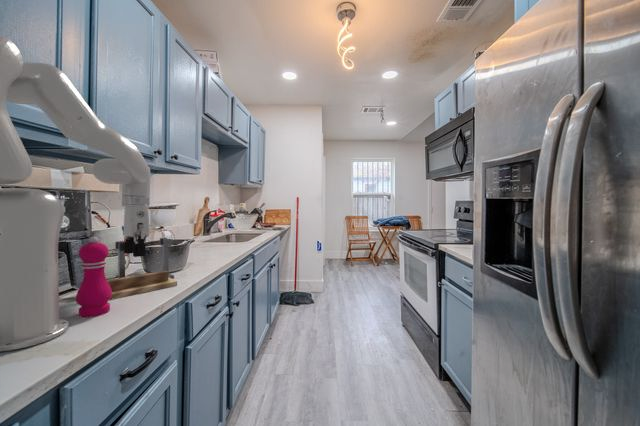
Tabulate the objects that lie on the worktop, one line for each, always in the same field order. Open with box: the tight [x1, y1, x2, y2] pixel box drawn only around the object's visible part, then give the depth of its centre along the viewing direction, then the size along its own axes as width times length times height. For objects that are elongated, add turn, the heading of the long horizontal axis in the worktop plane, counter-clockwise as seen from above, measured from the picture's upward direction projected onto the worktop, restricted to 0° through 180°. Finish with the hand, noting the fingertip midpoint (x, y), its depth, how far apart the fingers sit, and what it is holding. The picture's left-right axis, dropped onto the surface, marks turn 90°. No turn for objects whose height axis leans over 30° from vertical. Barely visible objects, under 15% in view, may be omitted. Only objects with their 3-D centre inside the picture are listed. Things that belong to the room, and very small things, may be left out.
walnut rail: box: [106, 270, 168, 291], centre depth 89 cm, size 18×2×3 cm, turn 140°
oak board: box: [108, 277, 178, 301], centre depth 89 cm, size 22×8×2 cm, turn 139°
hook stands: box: [114, 237, 175, 280], centre depth 99 cm, size 18×6×15 cm, turn 139°
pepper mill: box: [75, 236, 112, 318], centre depth 70 cm, size 7×7×20 cm
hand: (134, 254), depth 87 cm, fingers open, 9 cm apart
